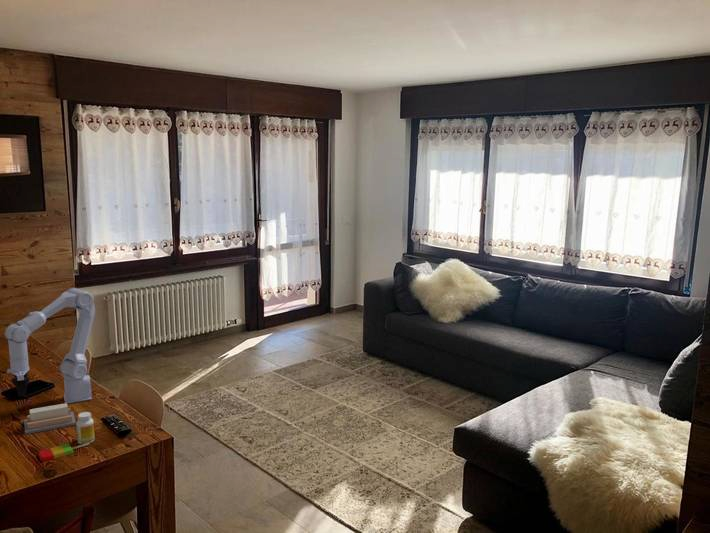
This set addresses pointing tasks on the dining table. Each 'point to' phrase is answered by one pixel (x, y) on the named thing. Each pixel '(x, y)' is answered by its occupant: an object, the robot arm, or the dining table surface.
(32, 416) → the beige rectangular block
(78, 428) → the supplement bottle
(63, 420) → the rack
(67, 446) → the popsicle
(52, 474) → the dining table surface
